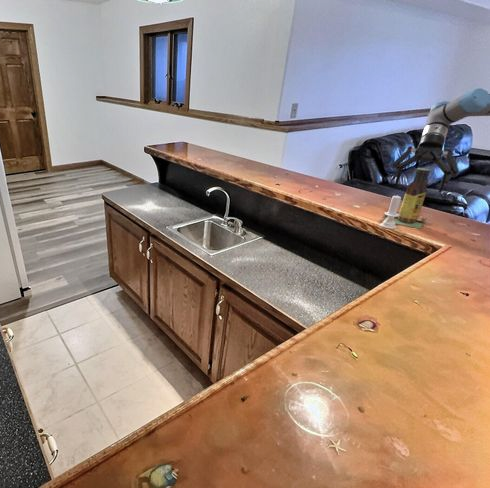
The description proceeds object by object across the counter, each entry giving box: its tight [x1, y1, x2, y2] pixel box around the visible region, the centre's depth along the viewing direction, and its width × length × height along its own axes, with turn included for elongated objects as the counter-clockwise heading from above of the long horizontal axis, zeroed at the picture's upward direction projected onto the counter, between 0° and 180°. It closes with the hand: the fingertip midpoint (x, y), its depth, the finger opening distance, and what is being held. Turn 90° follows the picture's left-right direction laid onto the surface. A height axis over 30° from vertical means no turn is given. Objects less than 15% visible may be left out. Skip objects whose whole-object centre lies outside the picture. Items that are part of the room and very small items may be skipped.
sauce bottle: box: [398, 167, 431, 223], centre depth 129 cm, size 7×6×20 cm
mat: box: [383, 214, 424, 230], centre depth 134 cm, size 12×10×1 cm
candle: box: [379, 194, 402, 230], centre depth 127 cm, size 5×5×12 cm
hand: (417, 187), depth 128 cm, fingers open, 13 cm apart
